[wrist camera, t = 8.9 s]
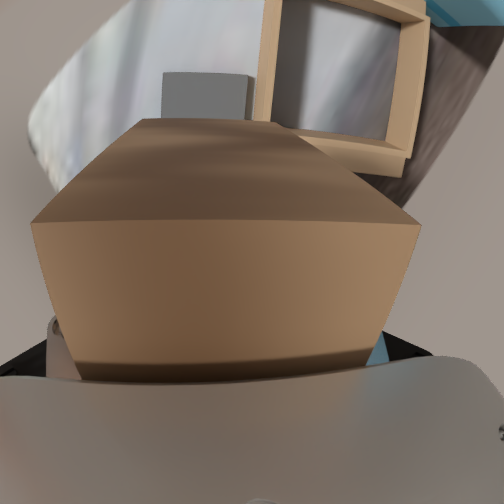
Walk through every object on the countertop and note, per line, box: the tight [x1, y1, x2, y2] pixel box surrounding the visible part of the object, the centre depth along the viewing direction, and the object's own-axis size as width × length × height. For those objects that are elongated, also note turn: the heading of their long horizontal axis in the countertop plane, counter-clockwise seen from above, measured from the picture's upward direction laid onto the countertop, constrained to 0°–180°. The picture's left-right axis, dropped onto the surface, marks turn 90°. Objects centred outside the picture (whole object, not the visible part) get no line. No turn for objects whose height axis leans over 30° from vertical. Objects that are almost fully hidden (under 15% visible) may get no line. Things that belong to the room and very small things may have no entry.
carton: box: [253, 0, 430, 178], centre depth 23 cm, size 14×18×4 cm
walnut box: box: [30, 118, 421, 383], centre depth 10 cm, size 5×10×9 cm, turn 175°
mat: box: [161, 72, 248, 120], centre depth 27 cm, size 7×14×1 cm, turn 175°
